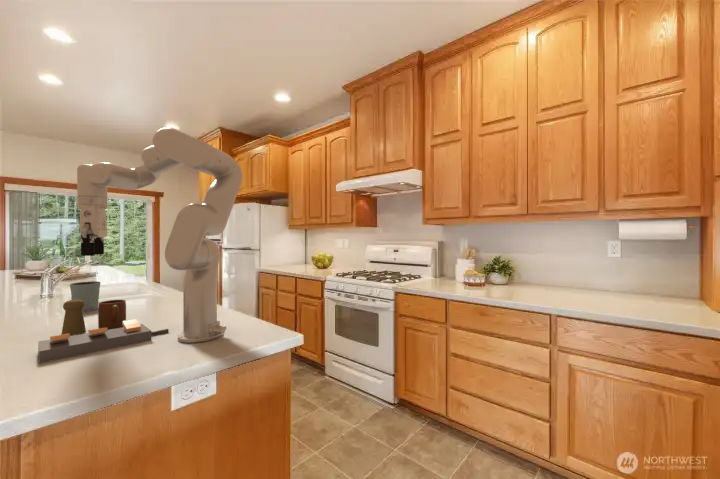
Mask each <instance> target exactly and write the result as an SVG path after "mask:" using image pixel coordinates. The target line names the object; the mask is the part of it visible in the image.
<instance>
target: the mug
mask: <svg viewBox="0 0 720 479" xmlns="http://www.w3.org/2000/svg"><path fill="white" fill-rule="evenodd" d="M97 310H98V311H97V313H98V315H97V316H98V317H97V320H98V321H97V324H98V326H97V327H98V328H97V329H100V328H107V327H108V330H110V329H116V328H122V327H123V325H122V322H123V321H127V302H126V300H125V299H112V300H111V299H110V300H105V301H100V302H99V304H98V309H97Z"/></svg>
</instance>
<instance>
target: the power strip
mask: <svg viewBox="0 0 720 479" xmlns="http://www.w3.org/2000/svg"><path fill="white" fill-rule="evenodd" d="M139 324H140V323H139ZM140 326H141V330H138V331H133V332H127V333H126V331H125V329H124V327H122V328H116V329H110V330H108V332H105V334H102V335H97V336H91V334H89V332H88V333H86V332H85V333H82V334H78V335H72V336H70V338H68V341H62V342H56V343H52V341H50V339H46V340H40V341H38V342H37V343H38V344H37V345H38V351H37V352H38V363H39V364H43V363H48V362H53V361H57V360H63V359H66V358H71V357H77V356H82V355H87V354H92V353H96V352H97V353H98V352H101V351H107V350H110V349H111V350H112V349H115V348H116V349H117V348H121V347H125V346H132V345H135V344H136V345H137V344H141V343H145V342H150V341H151V342H152V336H157V335H162V334H168V333H169V328H165V329H160V330H155V331H152V330H151V329H150V328H148V326H146V325H144V324H143V323H141V324H140Z"/></svg>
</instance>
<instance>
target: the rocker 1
mask: <svg viewBox="0 0 720 479" xmlns="http://www.w3.org/2000/svg"><path fill="white" fill-rule="evenodd" d="M68 338H70V334H63V335H61V334H57V335H52V336H51V335H50V336H49V340H50V341H52V343H56V342H62V341H68Z"/></svg>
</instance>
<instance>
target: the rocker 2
mask: <svg viewBox="0 0 720 479" xmlns="http://www.w3.org/2000/svg"><path fill="white" fill-rule="evenodd" d="M122 325H123V327H124V329H125V331H126V333H127V332H133V331H138V330H141V326H140V322H139V320H138V319H137V318H134V319H128V320H127V319H126V321H123V322H122Z"/></svg>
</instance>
